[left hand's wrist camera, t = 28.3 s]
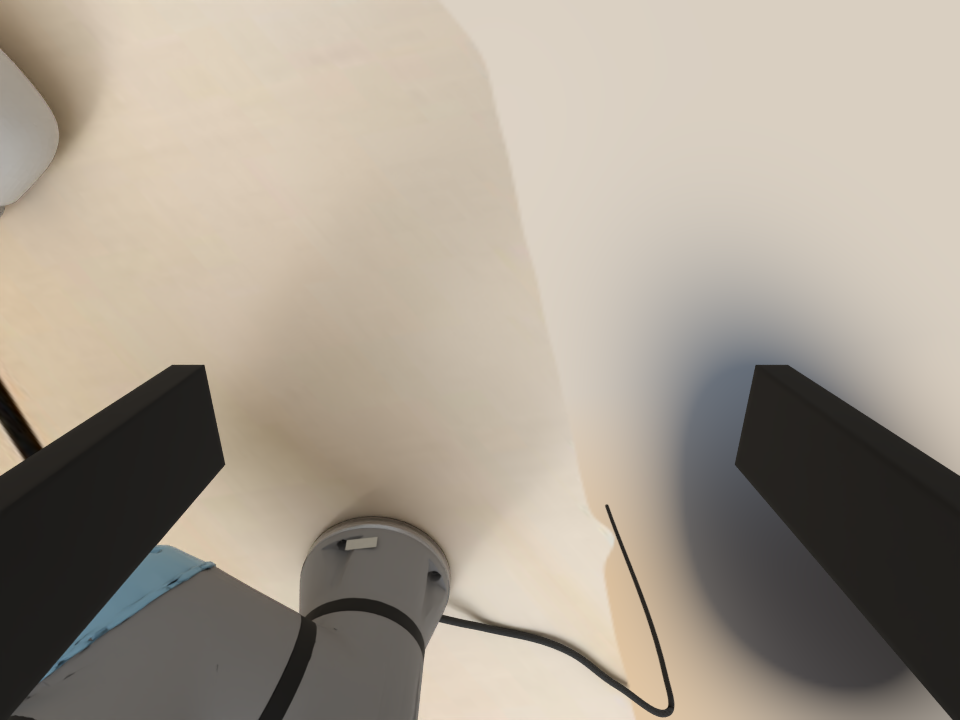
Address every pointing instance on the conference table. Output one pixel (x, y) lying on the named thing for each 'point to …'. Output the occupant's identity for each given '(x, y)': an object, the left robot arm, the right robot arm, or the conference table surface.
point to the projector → (22, 133)
